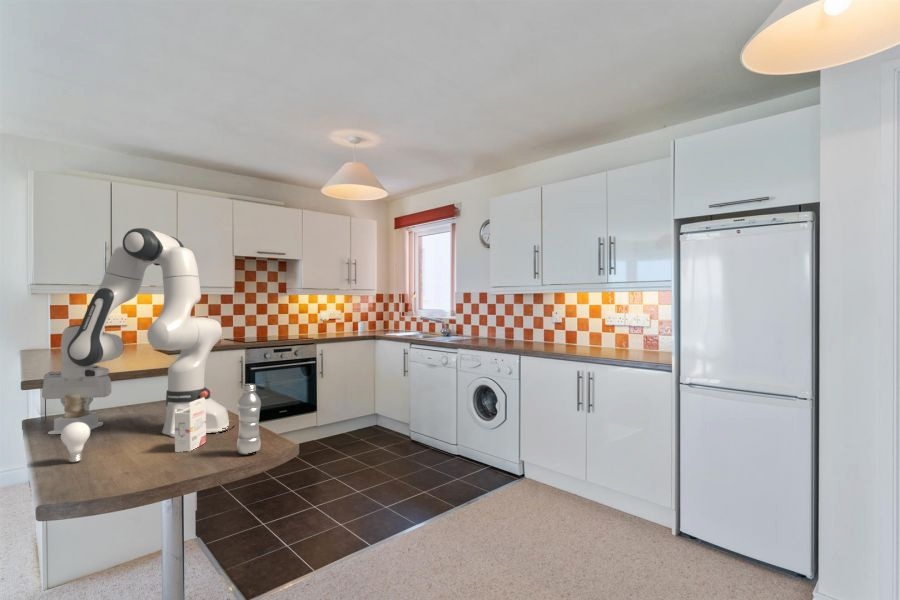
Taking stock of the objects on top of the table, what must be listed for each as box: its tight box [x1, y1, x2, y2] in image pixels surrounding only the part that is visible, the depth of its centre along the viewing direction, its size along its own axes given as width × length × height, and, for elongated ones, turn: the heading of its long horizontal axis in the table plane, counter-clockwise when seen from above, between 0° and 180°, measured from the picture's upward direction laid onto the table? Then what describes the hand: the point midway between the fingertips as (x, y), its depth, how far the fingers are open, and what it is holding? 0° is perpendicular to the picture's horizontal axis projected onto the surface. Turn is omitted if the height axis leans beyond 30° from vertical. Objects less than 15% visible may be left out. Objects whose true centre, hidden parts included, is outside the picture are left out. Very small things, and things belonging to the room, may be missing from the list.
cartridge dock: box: [47, 411, 104, 435], centre depth 159 cm, size 10×12×5 cm
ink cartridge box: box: [174, 397, 207, 453], centre depth 138 cm, size 9×5×15 cm, turn 179°
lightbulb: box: [60, 422, 91, 464], centre depth 126 cm, size 6×6×11 cm
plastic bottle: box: [236, 383, 262, 455], centre depth 133 cm, size 6×7×20 cm
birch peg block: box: [64, 395, 90, 418], centre depth 159 cm, size 4×6×10 cm, turn 8°
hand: (77, 410), depth 159 cm, fingers closed on birch peg block, 4 cm apart
